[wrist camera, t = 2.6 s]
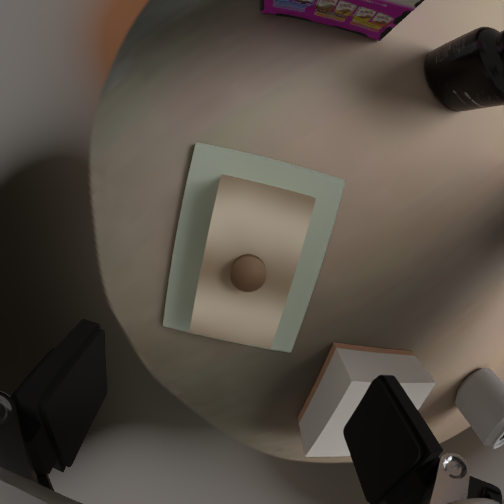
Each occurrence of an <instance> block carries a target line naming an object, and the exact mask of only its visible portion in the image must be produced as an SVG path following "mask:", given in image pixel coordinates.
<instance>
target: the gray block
mask: <svg viewBox="0 0 504 504" xmlns="http://www.w3.org/2000/svg"><path fill="white" fill-rule="evenodd" d="M379 375H393V376H395V377H396V379H397V380H398V382H399V383H400V385H401V386H402V387H403V389H404V390H405V392H406V393H407V395H408V396H409V398H410V399H411V401H412V402H413V404H414V405H415V407H416V408H417V410H419V408H420V407H421V405H422V404H423V402H424V401H425V399H426V398H427V396H428V395H429V393H430V392H431V390H432V389H433V387H434V386H435V384H436V381H435V380H434V379H433V378H432V376H431V375H430V374H429V373H428V371H427V370H426V369H425V368H424V366H423V365H422V364H421V363H420V361H419V360H418V359H417V358H416V356H415V355H414V354H413V353H412V352H411V351H406V350H395V349H385V348H375V347H366V346H358V345H350V344H343V343H335V342H333V345H332V347H331V349H330V352H329V354H328V356H327V358H326V361H325V363H324V365H323V367H322V369H321V371H320V374H319V376H318V378H317V380H316V382H315V384H314V386H313V388H312V390H311V392H310V394H309V396H308V398H307V400H306V402H305V404H304V406H303V408H302V410H301V412H300V414H299V416H298V422H299V427H300V433H301V438H302V443H303V448H304V454H305V457H336V456H351V455H350V452H349V449H348V446H347V444H346V441H345V438H344V435H343V429H344V427H345V425H346V423H347V422H348V420H349V419H350V417H351V416H352V414H353V413H354V411H355V409H356V408H357V406H358V405H359V403H360V401H361V400H362V398H363V396H364V395H365V393H366V391H367V389H368V388H369V386H370V384H371V382H372V381H373V380H374V379H376V378H377V377H378V376H379Z"/></svg>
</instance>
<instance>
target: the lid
mask: <svg viewBox="0 0 504 504" xmlns="http://www.w3.org/2000/svg"><path fill="white" fill-rule="evenodd" d="M315 201H316V198H314V197H311V196H308V195H305V194H302V193H298V192H294V191H290V190H287V189H283V188H279V187H275V186H271V185H267V184H263V183H259V182H255V181H251V180H247V179H242V178H238V177H234V176H229V175H221V178H220V182H219V187H218V191H217V195H216V200H215V204H214V209H213V213H212V218H211V222H210V227H209V232H208V236H207V241H206V246H205V251H204V256H203V261H202V266H201V271H200V276H199V281H198V286H197V292H196V297H195V303H194V308H193V314H192V319H191V325H190V331H189V332H191V333H195V334H199V335H204V336H208V337H213V338H217V339H222V340H227V341H231V342H236V343H241V344H247V345H252V346H257V347H263V348H268V349H271V346H272V343H273V340H274V337H275V334H276V331H277V328H278V325H279V322H280V319H281V316H282V313H283V310H284V307H285V303H286V300H287V297H288V294H289V291H290V287H291V284H292V281H293V278H294V274H295V271H296V268H297V264H298V261H299V258H300V254H301V251H302V247H303V244H304V240H305V237H306V233H307V230H308V226H309V223H310V219H311V216H312V212H313V208H314V205H315Z"/></svg>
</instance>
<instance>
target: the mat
mask: <svg viewBox="0 0 504 504" xmlns="http://www.w3.org/2000/svg"><path fill="white" fill-rule="evenodd" d="M221 175H229V176H234V177H238V178H242V179H247V180H251V181H255V182H259V183H263V184H267V185H271V186H275V187H279V188H283V189H287V190H290V191H294V192H298V193H302V194H305V195H308V196H311V197H314V198H316V201H315V205H314V208H313V212H312V216H311V219H310V223H309V226H308V230H307V233H306V237H305V240H304V244H303V247H302V251H301V254H300V258H299V261H298V264H297V268H296V271H295V274H294V278H293V281H292V284H291V287H290V291H289V294H288V297H287V300H286V303H285V307H284V310H283V313H282V316H281V319H280V322H279V325H278V328H277V331H276V334H275V337H274V340H273V343H272V346H271V350H277V351H283V352H289V353H291V351H292V349H293V346H294V343H295V341H296V338H297V335H298V332H299V330H300V327H301V324H302V321H303V319H304V316H305V313H306V310H307V307H308V304H309V301H310V298H311V295H312V292H313V289H314V286H315V283H316V280H317V277H318V274H319V271H320V268H321V265H322V262H323V259H324V255H325V252H326V249H327V246H328V242H329V239H330V235H331V232H332V229H333V225H334V222H335V218H336V215H337V211H338V207H339V204H340V200H341V196H342V193H343V189H344V185H345V181H346V180H343V179H340V178H337V177H334V176H330V175H327V174H324V173H320V172H317V171H314V170H310V169H307V168H303V167H300V166H296V165H293V164H289V163H285V162H282V161H278V160H274V159H270V158H266V157H262V156H258V155H254V154H250V153H245V152H241V151H237V150H232V149H227V148H223V147H218V146H213V145H208V144H203V143H198V142H196V144H195V148H194V153H193V157H192V161H191V165H190V170H189V174H188V178H187V183H186V188H185V192H184V197H183V202H182V207H181V212H180V217H179V222H178V228H177V233H176V239H175V245H174V250H173V256H172V262H171V269H170V275H169V282H168V289H167V296H166V304H165V311H164V320H163V326H165V327H169V328H173V329H177V330H181V331H185V332H189V331H190V325H191V319H192V314H193V308H194V303H195V297H196V292H197V286H198V281H199V276H200V271H201V266H202V261H203V256H204V251H205V246H206V241H207V236H208V232H209V227H210V222H211V218H212V213H213V209H214V204H215V200H216V195H217V191H218V187H219V182H220V178H221ZM189 333H191V332H189ZM193 334H195V333H193ZM197 335H199V334H197ZM201 336H204V335H201ZM206 337H208V336H206ZM210 338H213V337H210ZM215 339H217V338H215ZM219 340H222V339H219ZM224 341H227V340H224ZM229 342H231V341H229ZM234 343H236V342H234ZM239 344H241V343H239ZM244 345H247V344H244ZM249 346H252V345H249ZM254 347H257V346H254ZM260 348H263V347H260ZM265 349H268V348H265Z"/></svg>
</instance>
